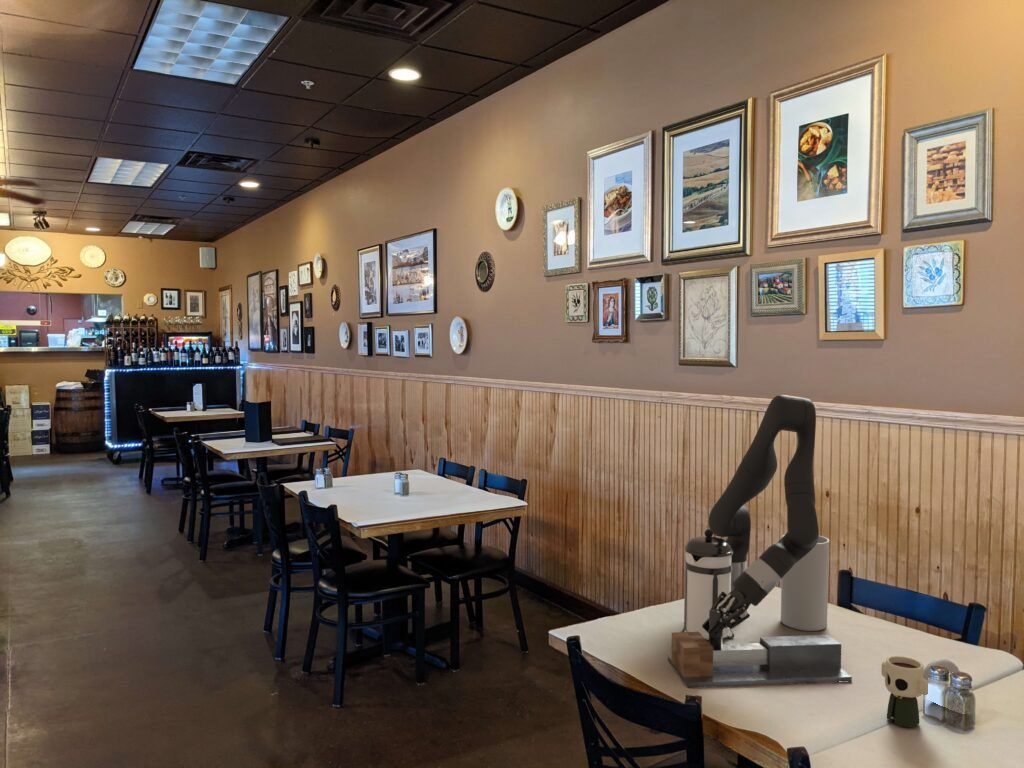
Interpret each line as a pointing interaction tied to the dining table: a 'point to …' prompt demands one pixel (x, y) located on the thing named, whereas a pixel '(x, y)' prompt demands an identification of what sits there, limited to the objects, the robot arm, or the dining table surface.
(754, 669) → the grey base with blocks
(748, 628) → the dining table surface
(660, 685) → the dining table surface
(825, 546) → the cylinder vase
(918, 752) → the dining table surface
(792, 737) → the dining table surface
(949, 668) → the donut
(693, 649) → the brown wooden block
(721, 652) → the slider
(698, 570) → the coffee press
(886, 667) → the character mug
